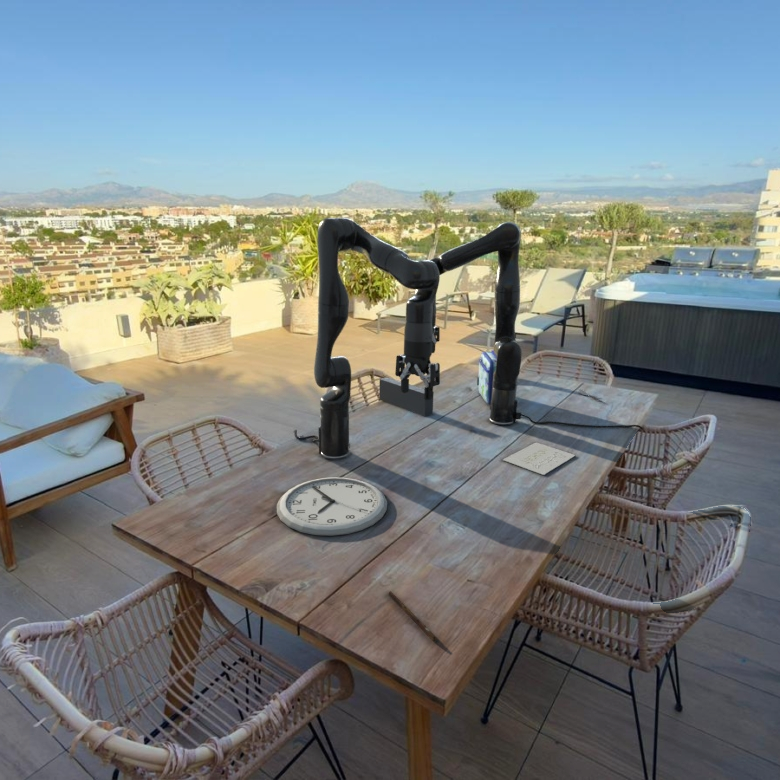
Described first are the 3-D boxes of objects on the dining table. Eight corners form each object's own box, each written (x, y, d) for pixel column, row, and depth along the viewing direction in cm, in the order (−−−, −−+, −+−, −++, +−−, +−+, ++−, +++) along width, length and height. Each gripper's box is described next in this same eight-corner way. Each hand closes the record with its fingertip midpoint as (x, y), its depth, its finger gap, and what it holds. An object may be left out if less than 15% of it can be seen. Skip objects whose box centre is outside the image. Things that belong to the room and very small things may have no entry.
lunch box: (475, 390, 246) (478, 346, 240) (498, 390, 246) (501, 347, 240) (484, 408, 221) (487, 360, 215) (509, 409, 221) (513, 360, 215)
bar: (432, 413, 214) (433, 391, 211) (424, 416, 211) (425, 394, 208) (387, 397, 233) (387, 377, 231) (379, 399, 230) (379, 379, 228)
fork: (599, 403, 231) (599, 398, 230) (577, 392, 245) (578, 388, 245) (604, 402, 231) (604, 398, 231) (582, 392, 246) (583, 387, 245)
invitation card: (535, 442, 186) (575, 454, 176) (535, 442, 187) (575, 455, 176) (502, 459, 172) (543, 474, 162) (502, 460, 172) (543, 475, 162)
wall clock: (392, 527, 129) (268, 531, 127) (391, 533, 130) (269, 537, 127) (383, 473, 158) (282, 475, 155) (383, 478, 158) (282, 480, 156)
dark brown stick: (388, 595, 108) (388, 591, 108) (390, 594, 108) (390, 590, 108) (433, 641, 96) (433, 637, 96) (435, 640, 96) (435, 636, 96)
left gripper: (389, 335, 141) (388, 392, 146) (428, 344, 131) (426, 405, 136) (408, 332, 146) (407, 387, 151) (448, 340, 136) (445, 399, 141)
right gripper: (431, 310, 210) (430, 350, 215) (406, 314, 201) (405, 355, 206) (445, 313, 205) (443, 353, 210) (420, 316, 195) (418, 358, 200)
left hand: (416, 395), depth 144 cm, fingers open, 8 cm apart
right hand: (424, 354), depth 208 cm, fingers open, 8 cm apart
